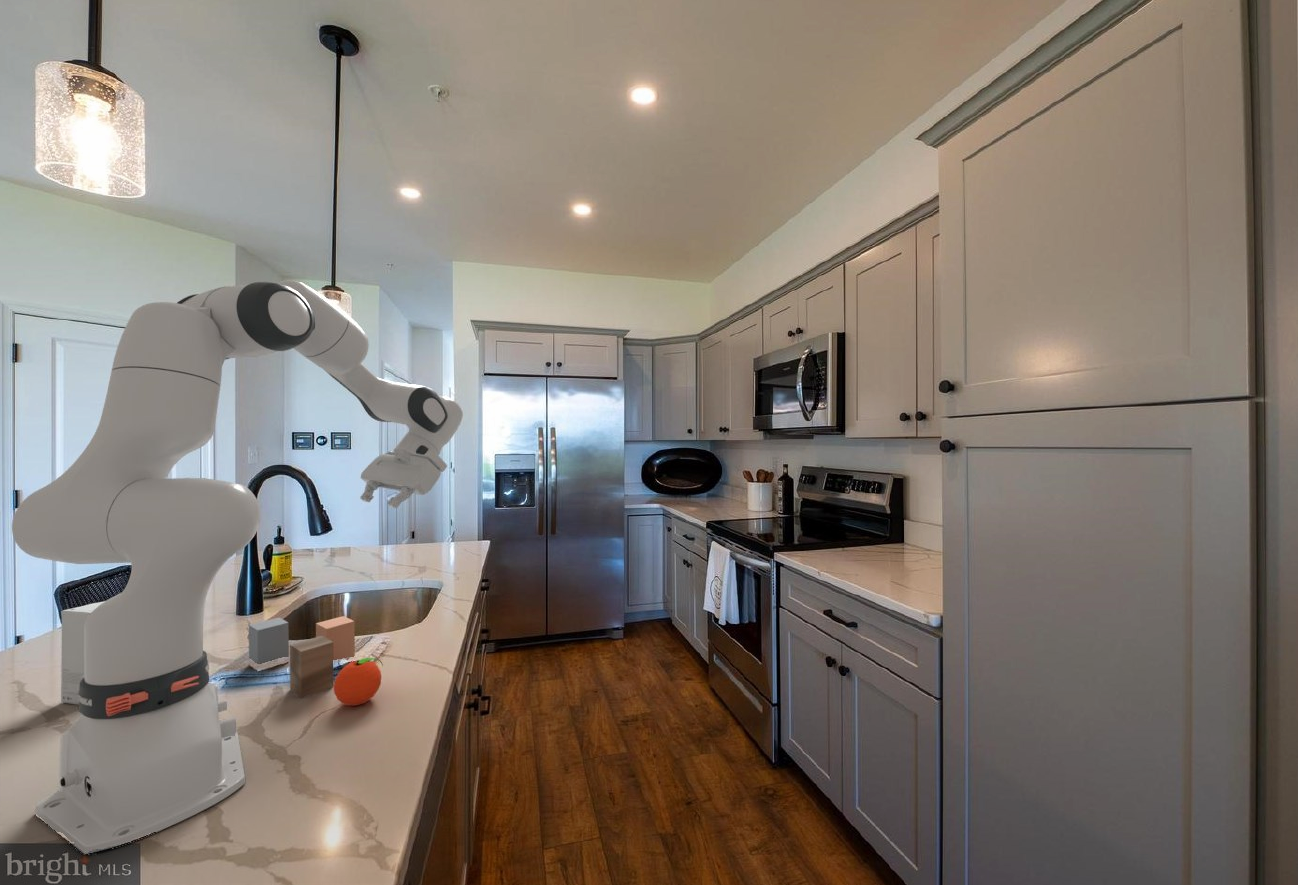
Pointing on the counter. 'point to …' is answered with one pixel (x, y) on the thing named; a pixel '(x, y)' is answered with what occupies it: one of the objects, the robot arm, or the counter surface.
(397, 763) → the counter surface
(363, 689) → the clementine
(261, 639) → the slate-grey block
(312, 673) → the walnut block
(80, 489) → the robot arm
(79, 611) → the skincare box
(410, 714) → the counter surface
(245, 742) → the counter surface
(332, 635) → the terracotta block
